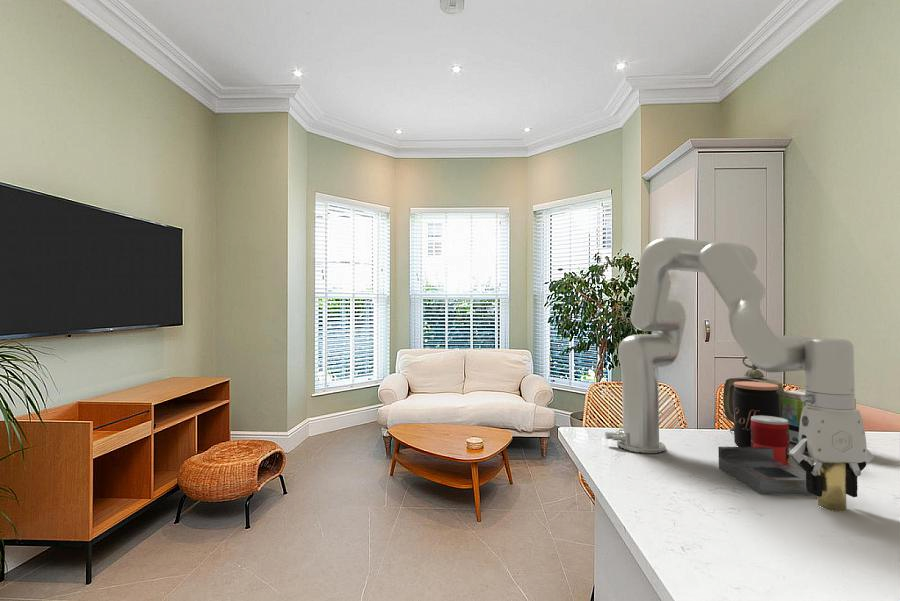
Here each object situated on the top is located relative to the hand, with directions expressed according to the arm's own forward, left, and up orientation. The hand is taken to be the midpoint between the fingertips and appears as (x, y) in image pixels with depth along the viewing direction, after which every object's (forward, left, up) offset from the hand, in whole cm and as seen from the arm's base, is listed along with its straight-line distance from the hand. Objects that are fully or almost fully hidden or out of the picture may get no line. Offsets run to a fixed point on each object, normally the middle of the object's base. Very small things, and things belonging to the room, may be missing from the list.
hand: (831, 493), depth 92 cm
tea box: (+29, +44, -3) cm, 53 cm away
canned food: (+6, +28, -3) cm, 29 cm away
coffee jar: (+10, +40, -3) cm, 41 cm away
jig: (-4, +14, -3) cm, 15 cm away
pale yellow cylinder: (0, 0, -3) cm, 3 cm away
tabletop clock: (+18, +54, -3) cm, 57 cm away
